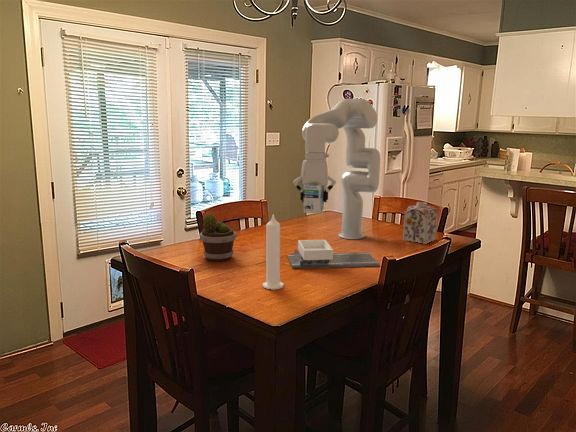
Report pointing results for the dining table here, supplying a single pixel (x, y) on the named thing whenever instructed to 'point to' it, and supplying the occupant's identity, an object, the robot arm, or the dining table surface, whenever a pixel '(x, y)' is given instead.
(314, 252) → the cart
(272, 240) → the candle
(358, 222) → the robot arm
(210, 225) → the flowerpot
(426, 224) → the decorative jar
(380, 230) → the dining table surface
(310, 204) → the light bulb box
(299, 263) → the track
